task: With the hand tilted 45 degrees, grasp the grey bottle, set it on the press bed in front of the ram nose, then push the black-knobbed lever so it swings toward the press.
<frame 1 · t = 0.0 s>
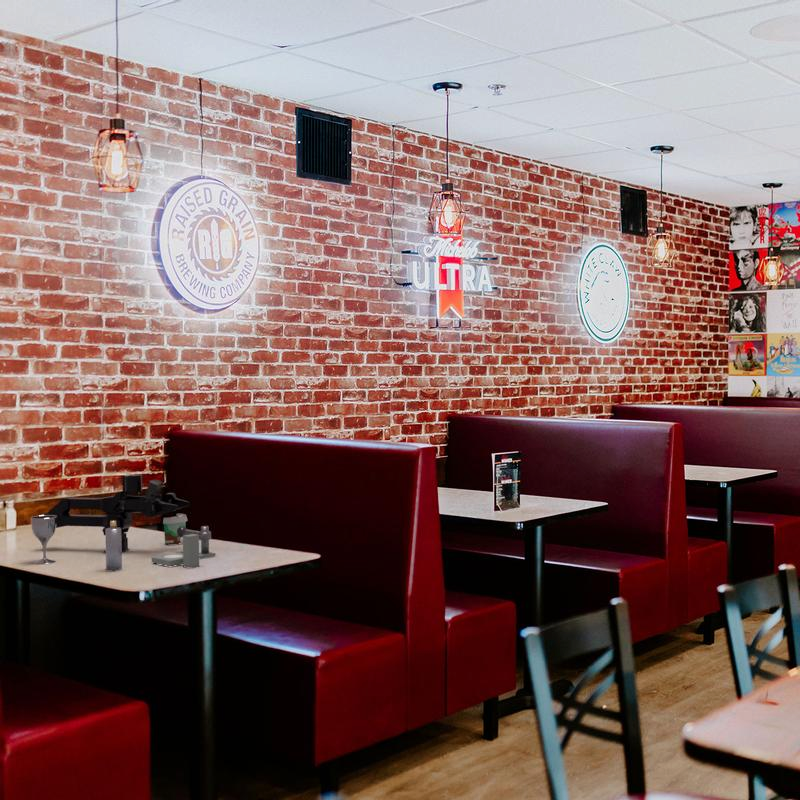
hand: (183, 505, 341), 17 cm above the table, tool horizontal, fingers open, 9 cm apart
press: (173, 563, 324), on the table
wine glass: (44, 562, 329), on the table
food container: (178, 543, 364), on the table
lever: (193, 537, 340), point 6 cm above the table, hinge at 0.0°
grey bottle: (114, 569, 314), on the table
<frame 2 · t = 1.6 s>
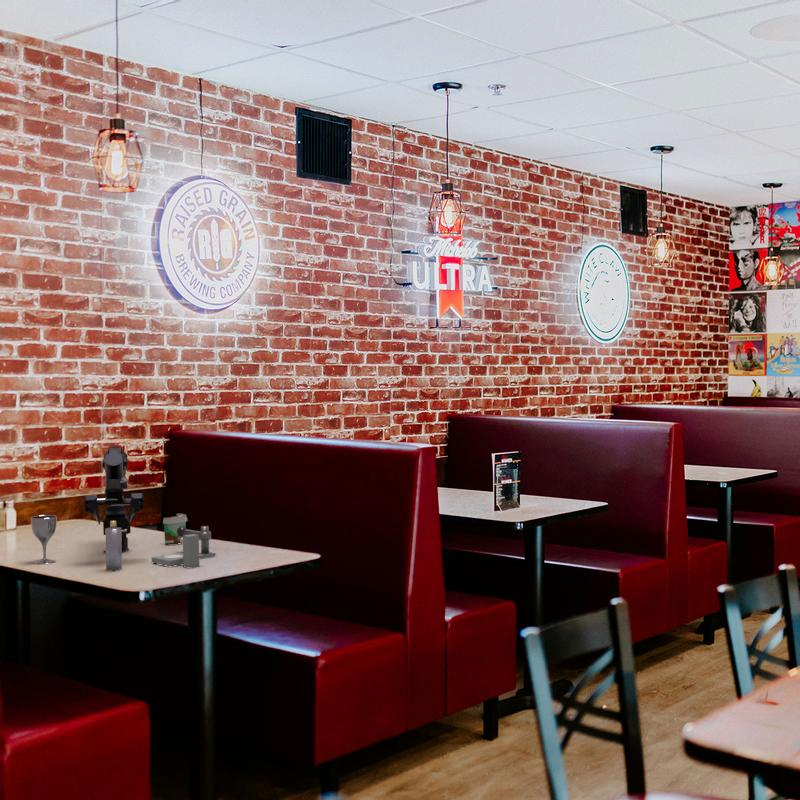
hand: (114, 523, 322), 14 cm above the table, tool tilted 45°, fingers open, 9 cm apart
nothing on the table moved.
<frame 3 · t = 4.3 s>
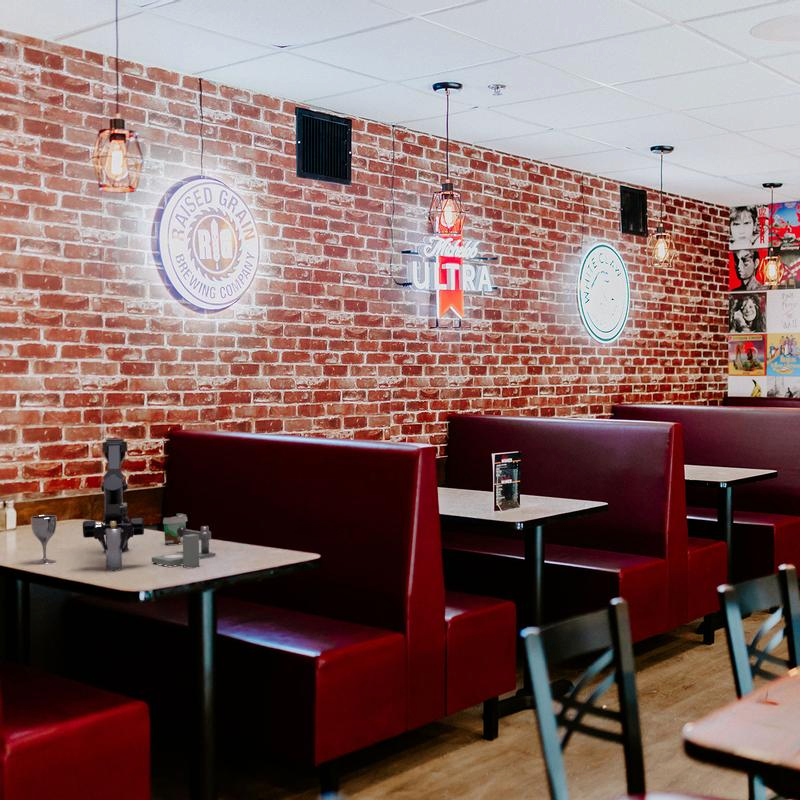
hand: (113, 549, 313), 7 cm above the table, tool tilted 45°, fingers closed on grey bottle, 5 cm apart
grey bottle: (114, 569, 314), on the table, touching gripper
everything else where it was.
when the fingers open (9 cm above the table, at t = 8.4 s): grey bottle stays where it is, resting on press.
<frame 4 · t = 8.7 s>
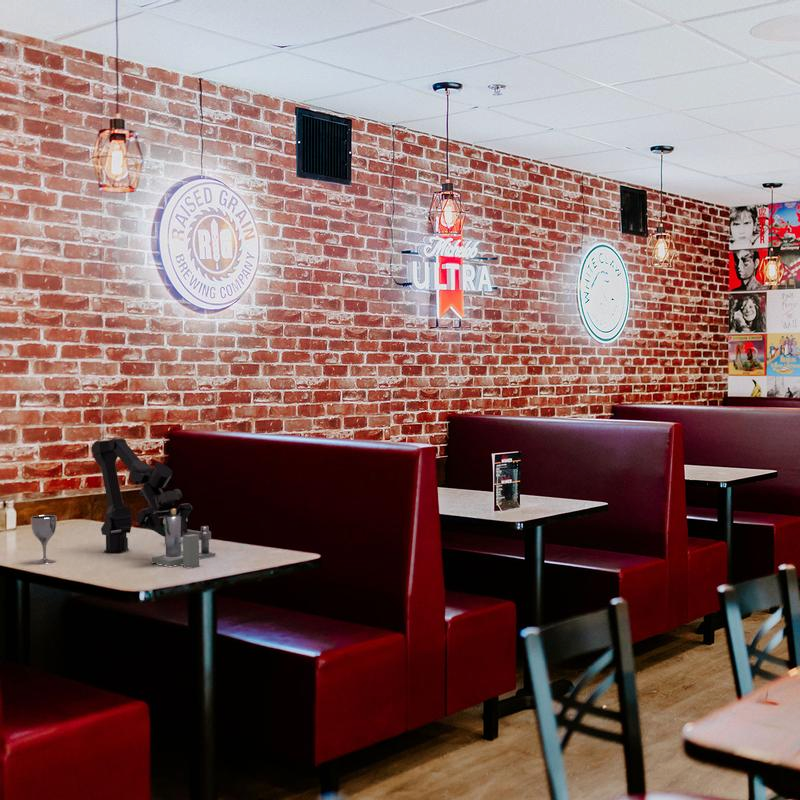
hand: (175, 534, 323), 10 cm above the table, tool tilted 45°, fingers open, 8 cm apart
grey bottle: (173, 556, 324), point 2 cm above the table, touching press
everything else where it was.
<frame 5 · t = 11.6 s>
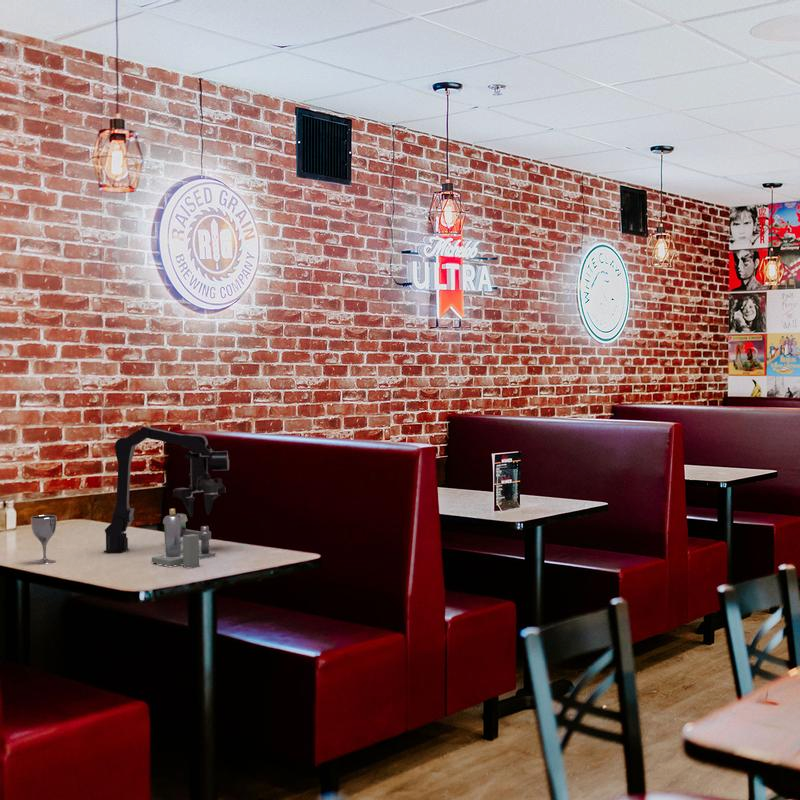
hand: (199, 515, 348), 12 cm above the table, tool pointing down, fingers open, 7 cm apart
nothing on the table moved.
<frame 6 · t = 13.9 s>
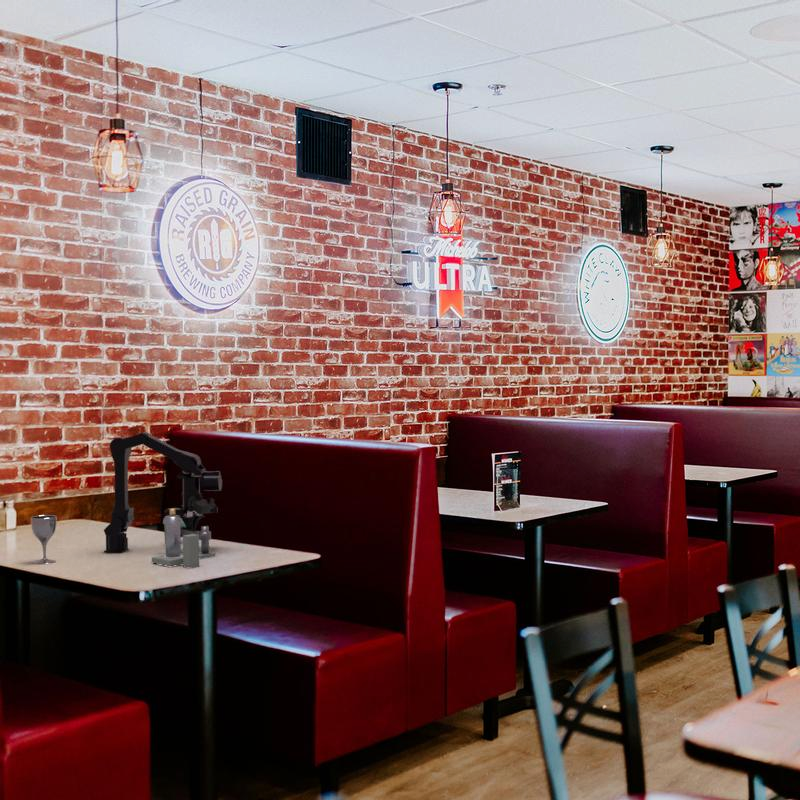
hand: (191, 535, 346), 5 cm above the table, tool pointing down, fingers closed
lever: (193, 537, 340), point 6 cm above the table, hinge at 0.0°, touching gripper
everything else where it was.
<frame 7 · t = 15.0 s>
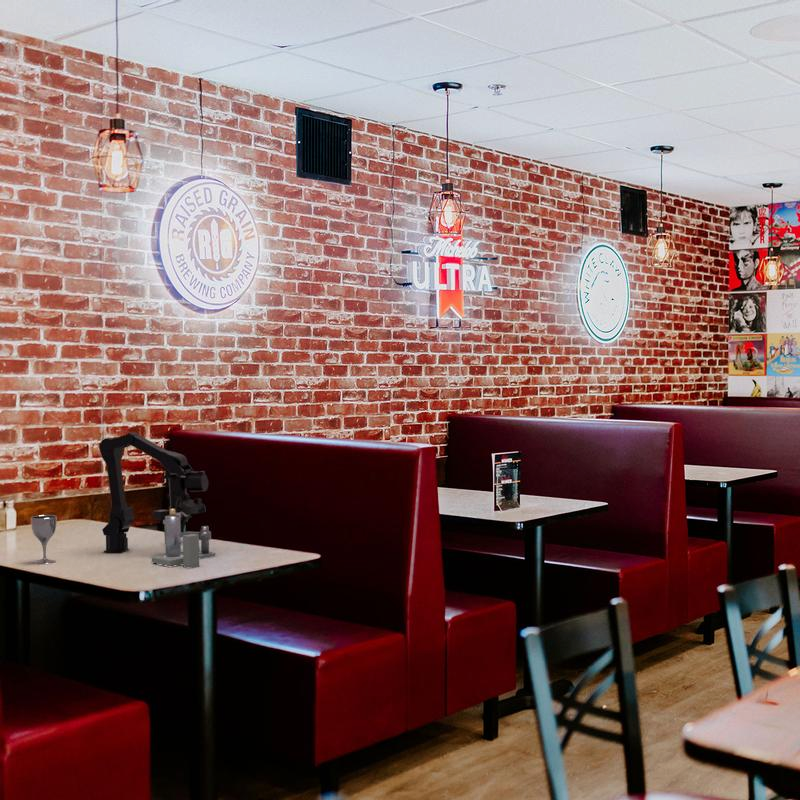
hand: (180, 536, 342), 6 cm above the table, tool pointing down, fingers closed
lever: (188, 538, 338), point 6 cm above the table, hinge at 21.6°, touching gripper
everything else where it was.
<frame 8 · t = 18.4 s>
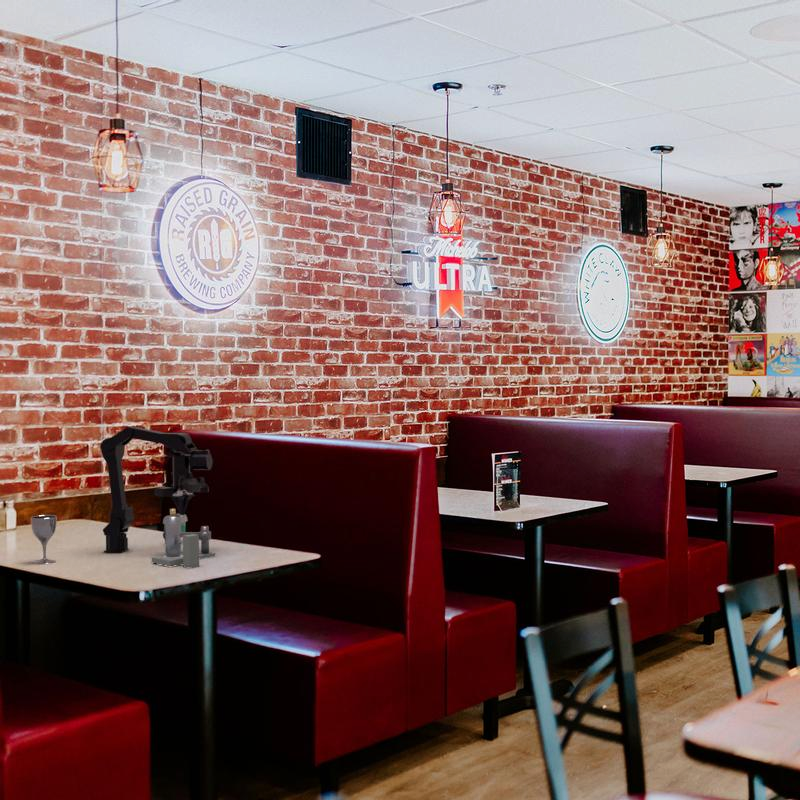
hand: (182, 515, 343), 13 cm above the table, tool pointing down, fingers closed
lever: (186, 539, 337), point 6 cm above the table, hinge at 33.2°
everything else where it was.
at the end: grey bottle inside the target area on the press (0.1 cm from its centre), point 2.2 cm above the press's base; grey bottle tilted 0°; lever at +33° (first picture: +0°) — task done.
